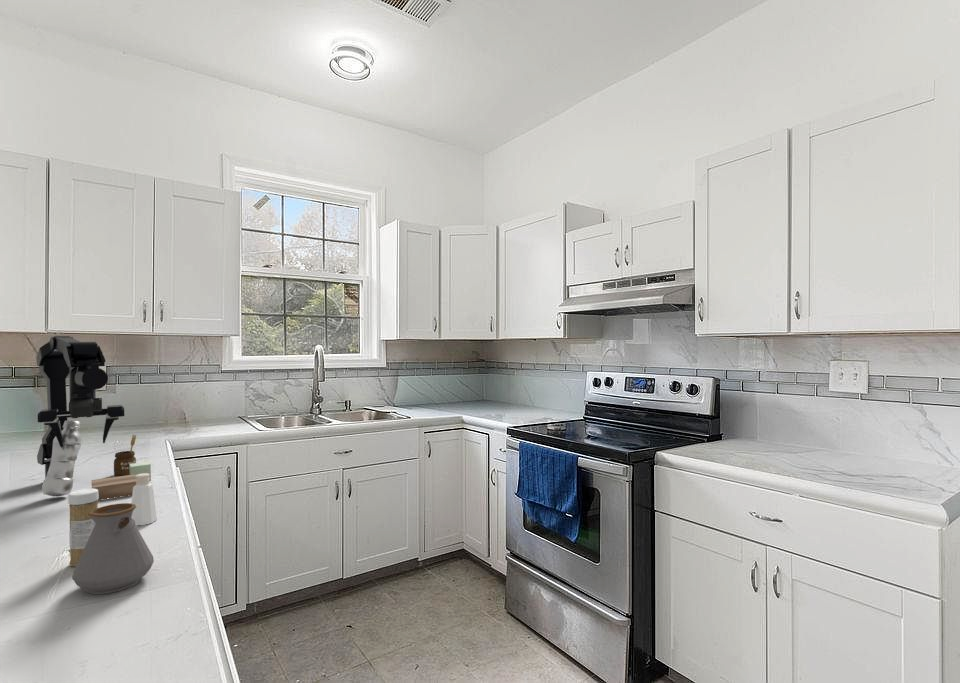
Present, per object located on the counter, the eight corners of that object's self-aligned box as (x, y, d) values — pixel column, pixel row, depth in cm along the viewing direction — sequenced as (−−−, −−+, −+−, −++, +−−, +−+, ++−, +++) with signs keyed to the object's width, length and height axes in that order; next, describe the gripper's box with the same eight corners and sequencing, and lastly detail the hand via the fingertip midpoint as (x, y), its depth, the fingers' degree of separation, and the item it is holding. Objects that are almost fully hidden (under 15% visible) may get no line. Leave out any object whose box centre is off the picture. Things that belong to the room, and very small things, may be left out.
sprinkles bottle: (79, 558, 102) (78, 488, 102) (104, 557, 103) (103, 487, 103) (63, 568, 98) (62, 495, 98) (89, 567, 98) (88, 494, 98)
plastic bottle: (54, 496, 139) (72, 419, 144) (32, 496, 140) (51, 419, 146) (76, 496, 145) (93, 423, 150) (56, 496, 146) (73, 423, 152)
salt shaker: (162, 519, 124) (161, 472, 124) (141, 527, 119) (140, 478, 119) (145, 517, 126) (144, 470, 126) (123, 524, 121) (122, 476, 121)
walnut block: (91, 494, 148) (91, 480, 148) (134, 488, 154) (134, 474, 154) (92, 503, 140) (92, 487, 140) (137, 496, 146) (137, 481, 146)
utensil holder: (109, 475, 167) (108, 437, 167) (129, 471, 173) (128, 434, 173) (121, 477, 165) (121, 438, 165) (141, 472, 171) (141, 435, 171)
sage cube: (129, 480, 162) (129, 463, 162) (149, 477, 165) (148, 461, 165) (131, 483, 158) (130, 466, 158) (150, 480, 161) (150, 464, 161)
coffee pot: (70, 582, 92) (68, 495, 92) (147, 563, 99) (146, 483, 99) (79, 633, 75) (78, 527, 75) (171, 606, 83) (170, 509, 83)
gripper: (35, 392, 133) (35, 454, 133) (124, 387, 144) (125, 445, 144) (39, 388, 142) (39, 447, 142) (123, 385, 153) (123, 439, 153)
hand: (83, 444), depth 145 cm, fingers open, 9 cm apart
